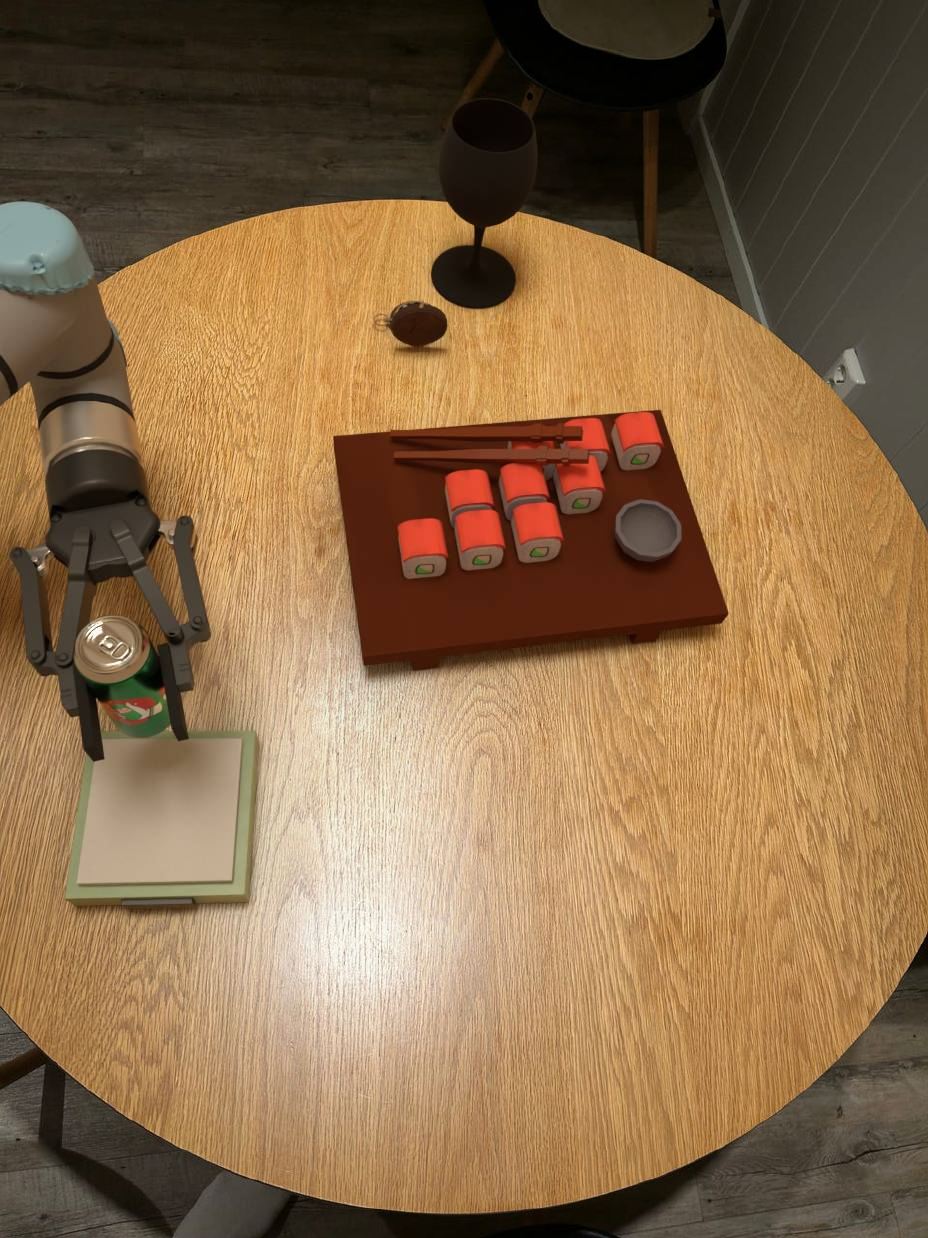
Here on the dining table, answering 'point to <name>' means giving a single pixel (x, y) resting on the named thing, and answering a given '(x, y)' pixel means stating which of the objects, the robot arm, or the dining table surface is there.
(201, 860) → the scale
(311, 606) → the dining table surface
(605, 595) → the sushi
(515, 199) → the wine glass
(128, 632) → the soda can
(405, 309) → the compass
